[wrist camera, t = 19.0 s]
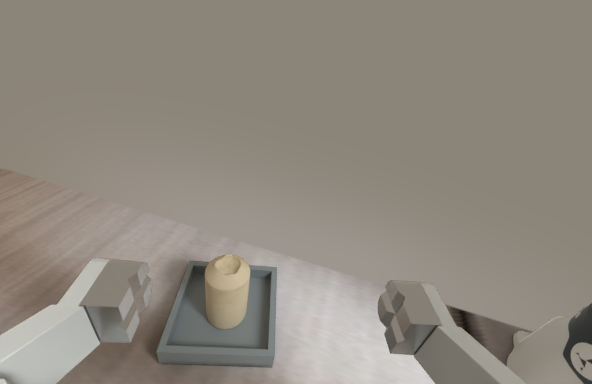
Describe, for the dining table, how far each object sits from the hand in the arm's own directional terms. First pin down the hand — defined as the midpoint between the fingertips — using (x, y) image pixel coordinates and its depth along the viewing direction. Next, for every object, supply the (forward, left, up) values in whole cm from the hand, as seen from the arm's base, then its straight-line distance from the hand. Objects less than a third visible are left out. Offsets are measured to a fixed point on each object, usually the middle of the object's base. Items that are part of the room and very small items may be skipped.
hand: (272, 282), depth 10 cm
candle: (+4, -17, -29) cm, 34 cm away
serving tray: (+4, -17, -30) cm, 35 cm away
